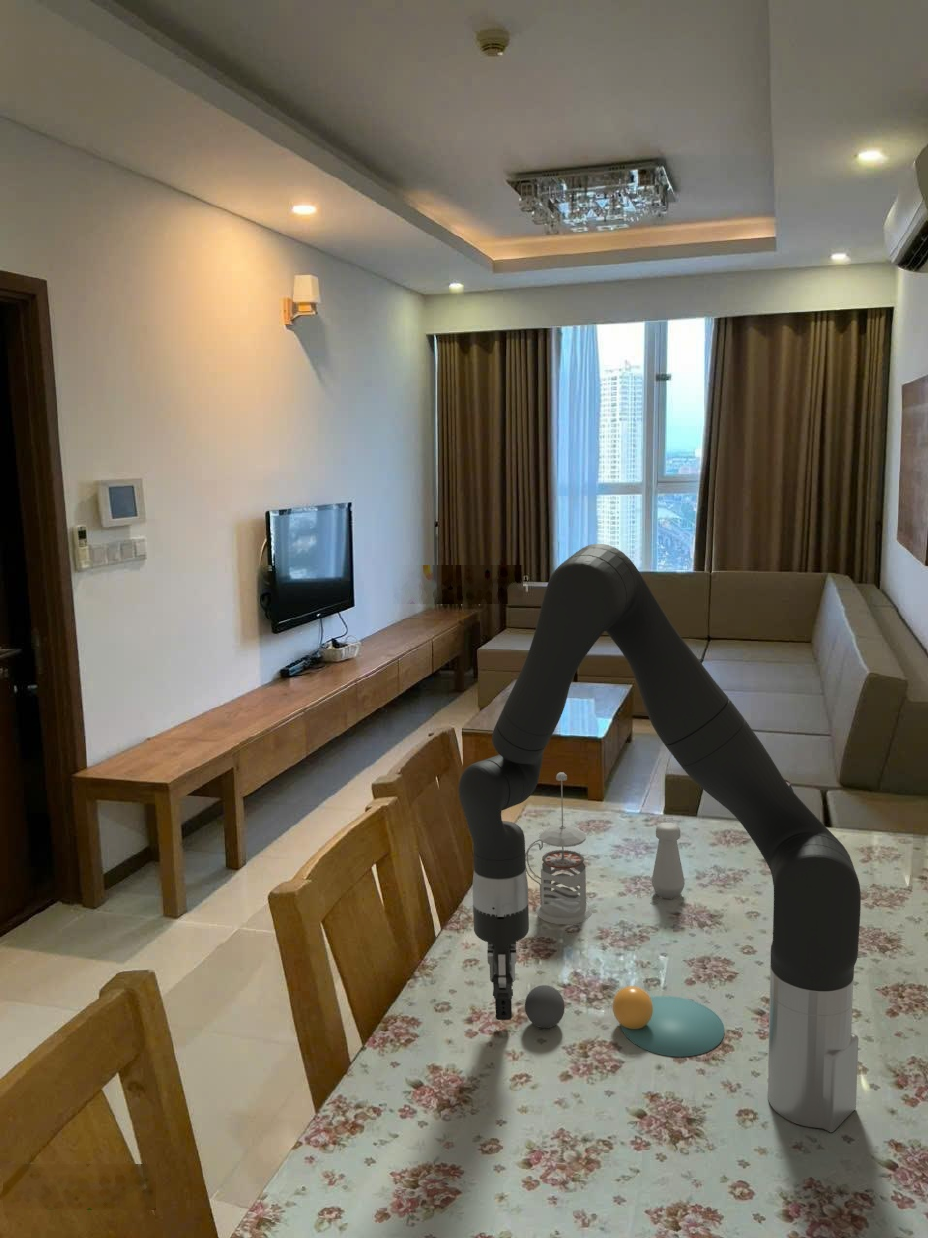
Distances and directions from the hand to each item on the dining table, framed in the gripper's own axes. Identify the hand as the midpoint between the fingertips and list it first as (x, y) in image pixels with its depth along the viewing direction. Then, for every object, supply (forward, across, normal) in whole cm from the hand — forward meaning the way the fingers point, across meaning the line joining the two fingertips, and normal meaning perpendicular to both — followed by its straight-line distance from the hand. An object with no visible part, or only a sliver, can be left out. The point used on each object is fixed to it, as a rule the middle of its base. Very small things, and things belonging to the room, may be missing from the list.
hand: (503, 1017), depth 133 cm
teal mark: (+2, 0, +23) cm, 23 cm away
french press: (+2, -35, +10) cm, 36 cm away
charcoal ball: (-1, 0, +6) cm, 6 cm away
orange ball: (-1, 0, +18) cm, 18 cm away
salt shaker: (+2, -40, +29) cm, 50 cm away
